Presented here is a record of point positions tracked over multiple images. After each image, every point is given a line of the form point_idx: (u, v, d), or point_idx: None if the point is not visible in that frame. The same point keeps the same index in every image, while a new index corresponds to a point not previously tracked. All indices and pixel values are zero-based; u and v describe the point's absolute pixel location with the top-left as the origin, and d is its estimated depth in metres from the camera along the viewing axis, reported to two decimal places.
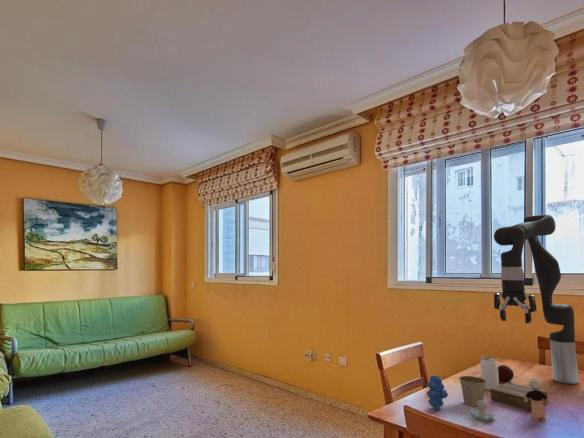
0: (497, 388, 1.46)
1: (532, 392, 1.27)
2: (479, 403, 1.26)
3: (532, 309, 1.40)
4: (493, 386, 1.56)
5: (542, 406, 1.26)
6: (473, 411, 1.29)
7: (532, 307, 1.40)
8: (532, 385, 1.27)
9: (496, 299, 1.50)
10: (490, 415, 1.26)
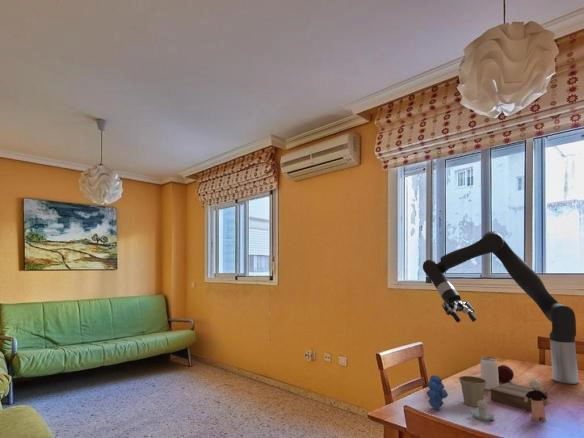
0: (497, 388, 1.46)
1: (532, 392, 1.27)
2: (479, 403, 1.27)
3: None
4: (493, 386, 1.56)
5: (542, 406, 1.26)
6: (473, 411, 1.29)
7: None
8: (532, 385, 1.27)
9: None
10: (490, 415, 1.27)
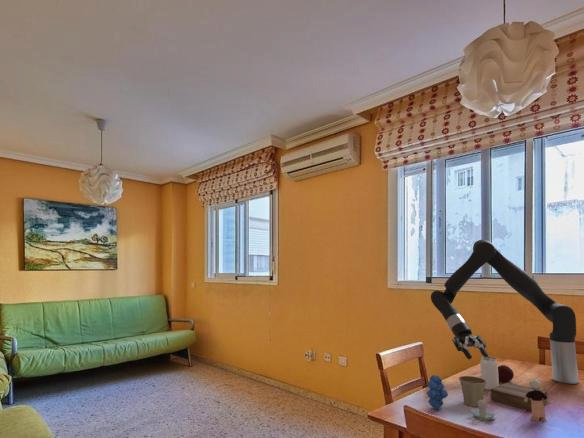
0: (497, 388, 1.46)
1: (532, 392, 1.27)
2: (479, 402, 1.27)
3: None
4: (493, 386, 1.56)
5: (542, 406, 1.26)
6: (474, 410, 1.30)
7: None
8: (532, 385, 1.27)
9: None
10: (490, 414, 1.27)
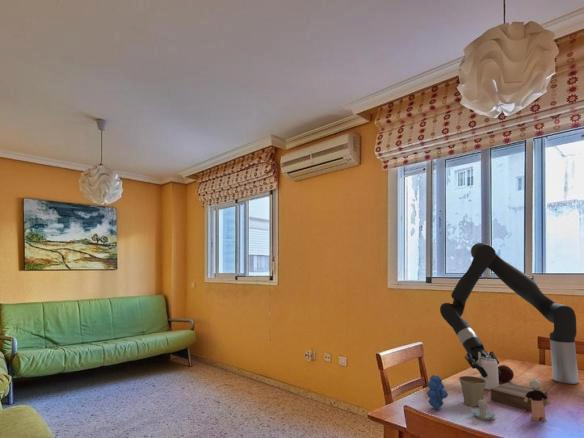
0: (497, 388, 1.46)
1: (532, 392, 1.27)
2: (480, 402, 1.27)
3: None
4: (493, 386, 1.56)
5: (542, 406, 1.26)
6: (474, 410, 1.30)
7: None
8: (532, 385, 1.27)
9: None
10: (491, 414, 1.27)
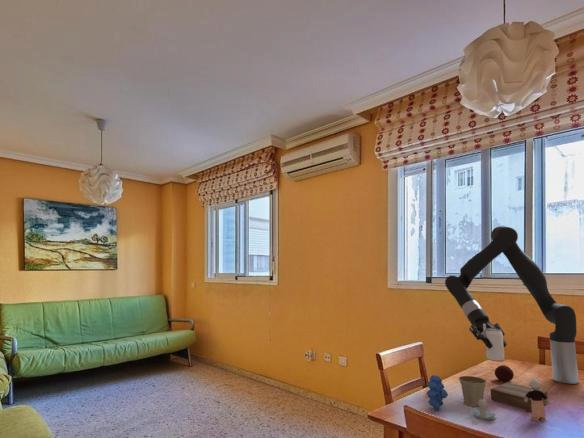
0: (497, 388, 1.46)
1: (532, 392, 1.27)
2: (480, 402, 1.27)
3: None
4: (498, 357, 1.53)
5: (542, 406, 1.26)
6: (474, 410, 1.30)
7: None
8: (532, 385, 1.27)
9: None
10: (491, 414, 1.27)
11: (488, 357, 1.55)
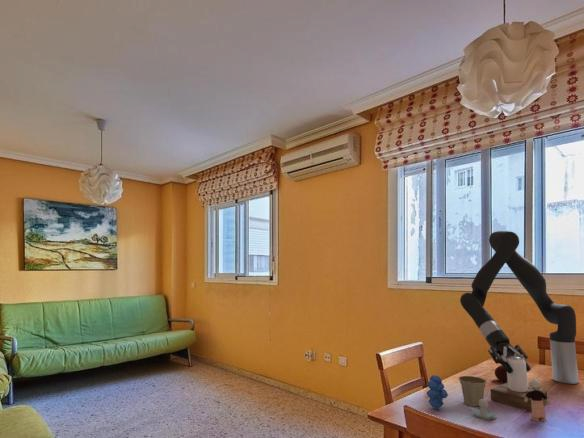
0: (497, 388, 1.46)
1: (532, 392, 1.27)
2: (481, 402, 1.28)
3: None
4: (521, 388, 1.41)
5: (542, 406, 1.26)
6: (475, 409, 1.30)
7: None
8: (532, 385, 1.27)
9: None
10: (491, 413, 1.28)
11: (510, 387, 1.43)
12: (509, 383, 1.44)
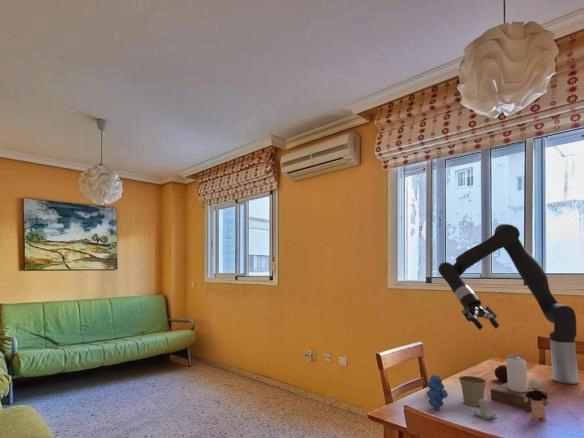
0: (497, 388, 1.46)
1: (532, 392, 1.27)
2: (481, 401, 1.28)
3: None
4: (522, 388, 1.41)
5: (542, 406, 1.26)
6: (475, 409, 1.31)
7: None
8: (532, 385, 1.27)
9: None
10: (492, 413, 1.28)
11: (510, 388, 1.43)
12: (509, 383, 1.44)
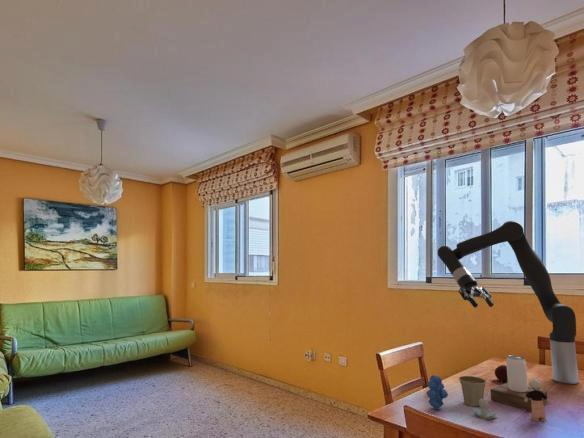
0: (497, 388, 1.46)
1: (532, 392, 1.27)
2: (481, 401, 1.28)
3: None
4: (522, 388, 1.41)
5: (542, 406, 1.26)
6: (475, 409, 1.31)
7: None
8: (532, 385, 1.27)
9: None
10: (492, 413, 1.28)
11: (510, 388, 1.43)
12: (509, 383, 1.44)
